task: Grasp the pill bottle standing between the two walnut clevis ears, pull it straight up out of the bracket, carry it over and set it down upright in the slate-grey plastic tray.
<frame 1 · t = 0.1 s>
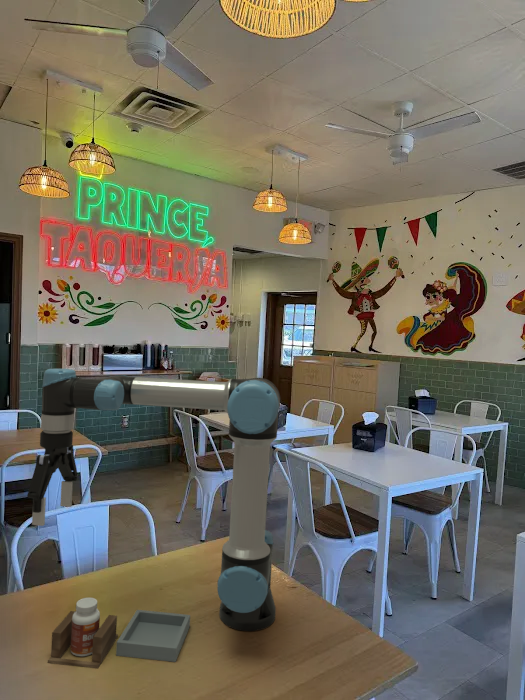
hand: (52, 515, 124), 28 cm above the table, fingers open, 13 cm apart
tray: (154, 640, 120), on the table
clevis bracket: (84, 649, 115), on the table
pill bottle: (84, 650, 115), resting in clevis bracket
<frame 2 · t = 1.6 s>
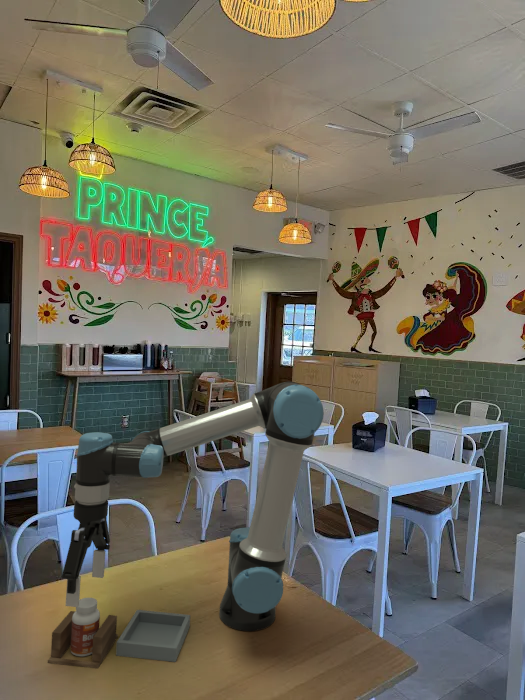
hand: (85, 590, 115), 14 cm above the table, fingers open, 13 cm apart
nothing on the table moved.
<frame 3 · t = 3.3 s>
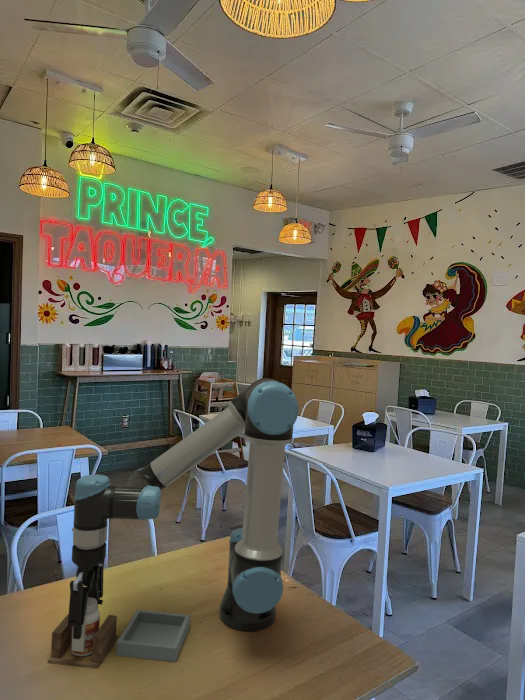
hand: (84, 640, 115), 2 cm above the table, fingers closed on pill bottle, 6 cm apart
pill bottle: (84, 650, 115), resting in clevis bracket, touching gripper
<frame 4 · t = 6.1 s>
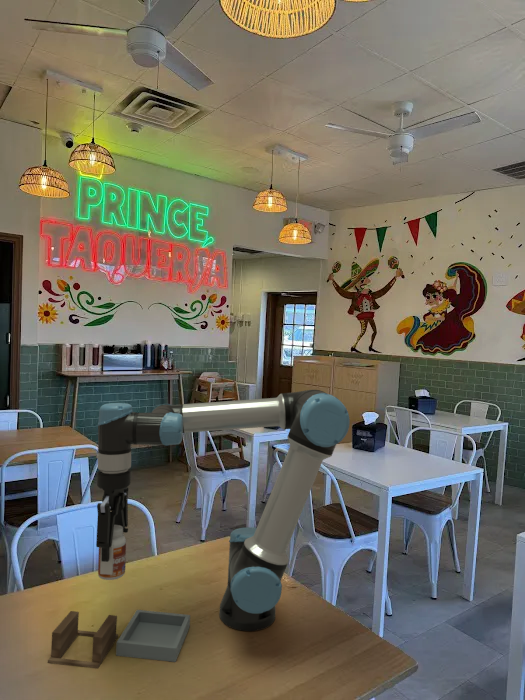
hand: (112, 566, 117), 19 cm above the table, fingers closed on pill bottle, 6 cm apart
pill bottle: (111, 575, 117), point 17 cm above the table, touching gripper
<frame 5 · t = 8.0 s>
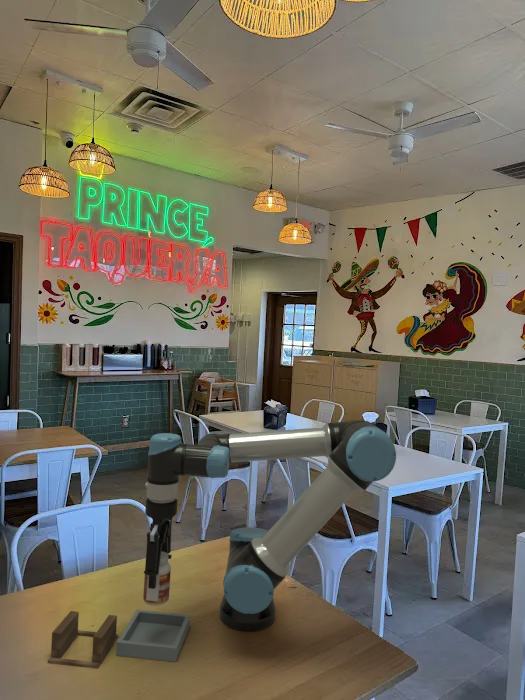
hand: (156, 592, 120), 12 cm above the table, fingers closed on pill bottle, 6 cm apart
pill bottle: (156, 600, 120), point 10 cm above the table, touching gripper
when the fingers open (4 cm above the table, at t = 9.4 s): pill bottle drops 2 cm, resting on tray.
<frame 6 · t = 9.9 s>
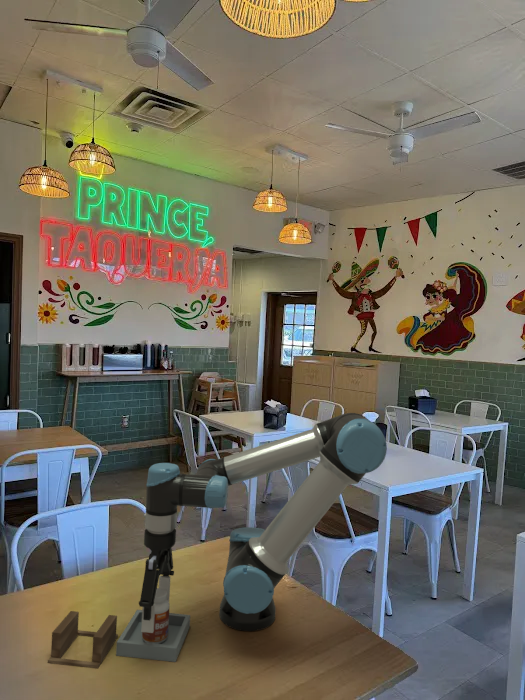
hand: (156, 616, 120), 6 cm above the table, fingers open, 12 cm apart
pill bottle: (155, 638, 120), resting on tray
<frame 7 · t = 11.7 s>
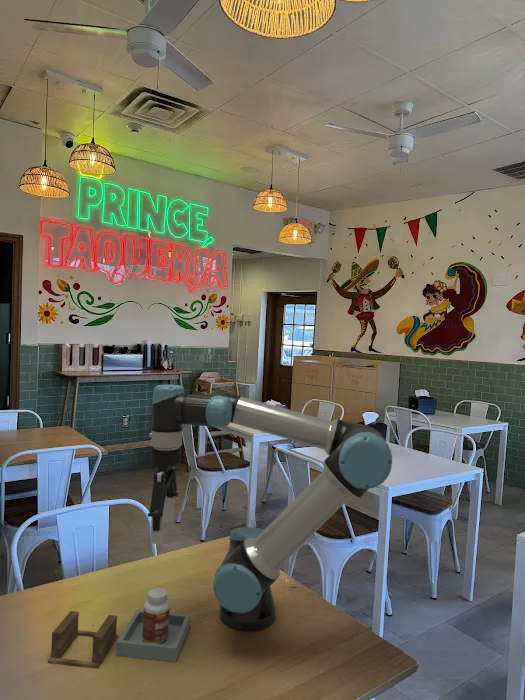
hand: (162, 532, 123), 25 cm above the table, fingers open, 13 cm apart
nothing on the table moved.
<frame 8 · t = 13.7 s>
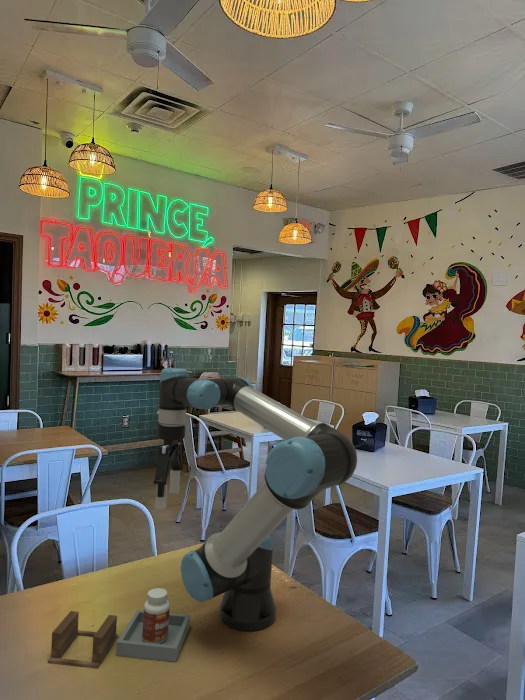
hand: (167, 500, 137), 29 cm above the table, fingers open, 13 cm apart
nothing on the table moved.
at the end: pill bottle inside the target area on the tray (0.1 cm from its centre), point 0.4 cm above the tray's base; pill bottle tilted 0°; the gripper is holding nothing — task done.
